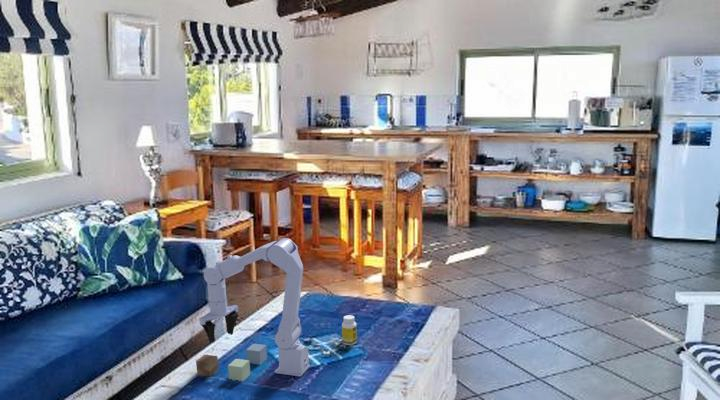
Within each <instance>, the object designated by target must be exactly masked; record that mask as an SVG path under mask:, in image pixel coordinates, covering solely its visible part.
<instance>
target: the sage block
mask: <svg viewBox="0 0 720 400" xmlns="http://www.w3.org/2000/svg"><path fill="white" fill-rule="evenodd" d="M227 368H228V369H227V370H228V379H229V380H230V379H232V380H231V381H236V380H238V381H237V382H244V381H246V379H247V378H249V376H250V375H251V363H249V360H247V359H242V358H235V359H234V360H232V361H231V362H230V363H229V364H227Z"/></svg>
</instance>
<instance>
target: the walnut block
mask: <svg viewBox="0 0 720 400" xmlns="http://www.w3.org/2000/svg"><path fill="white" fill-rule="evenodd" d="M195 362H196V363H195V364H196V373H197V376H203V377H209V376H210V377H209V378H211V377H212V376H213V375H214V374H216V373H217V372H218V371H219V370H218V369H219V359H218V355H211V354H203V355H201V356H200V357H199V358H198V359H197V360H196V361H195ZM217 370H218V371H217ZM216 371H217V372H216ZM211 375H212V376H211Z"/></svg>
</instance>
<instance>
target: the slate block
mask: <svg viewBox="0 0 720 400" xmlns="http://www.w3.org/2000/svg"><path fill="white" fill-rule="evenodd" d="M245 351H246V360H249V363H250V364H251V363H252V365H253V364H254V365H260V366H261V365H262V364H263V363H264V362H265V361H266V360H267V359H268V351H267V344H261V343H260V344H259V343H252V344H251V345H250V346H249V347H247V349H246V350H245Z"/></svg>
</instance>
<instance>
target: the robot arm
mask: <svg viewBox="0 0 720 400" xmlns="http://www.w3.org/2000/svg"><path fill="white" fill-rule="evenodd" d="M298 248H299V247H298V245H297V244H295V242H293V240H292V239H290V238H288V237H282V238H280V239H279V240H274V241H272V242H269V243H266V244H264V245H262V246H260V247H258V248H256V249H254V250H252V251H249V252H248V253H246V254H244V255H242V256H239V255H237V254H236V255H232V254H231V255H228V256H226V259H224V260H222V261H220V260H219V261H217V262H215V263H214V264H212V265H211V266H210V267H208V268H207V269H206V270H205V271H204V272H203V279H204V280H205V282H206V283H207V290H208V291H207V293H208V300H209V301H208V303H209V312H208V313H206V314H205V315H203V316H201V317H199V320H198V321H199V324H200V325H201V326H202V328H203V329H204V331H205V333H206V336H207V337H208V341H209V342H211V343H215V340H216V336H215V329H216V324H215V323H213V322H212V321H214V320H218V319H221V318H224V320H225V324H226V332H227V334H228V335H231V336H232V335H234V330H235V324H236V322H237V320H238V318H239V313H238V312H239V306H238V305H237V304H234V305H230V306H228V300H227V299H228V298H227V288H226V279H228V278H230V277H233V276H234V275H236V274H238V273H241V272H243V271H244V269H245V266H247V265H250V264H253V263H254V262H256V261H257V262H258V261H260V260H263V261H265V262H271V264H273V265H275V266H277V267H278V268H279V269H281V270H283V271H284V272H285V274H286V276H285V277H286V278H285V285H284V286H285V287H284V294H283V295H284V296H283V303H282V305H283V306H282V313H281V314H282V316H281V320H280V323H279V325H278V330H277V332H276V334H275V335H274V342H275V344H276V346H277V348H278V349H277V350H278V363H279V364H278V365H279V366H278V368H277V369H275V370H274V373H275V374H280V375H286V376H287V375H288V376H295V377H302V376H303V374H305V372H306V371H308V369H309V368H310V366H311V365H310V360H309V347H307V345H304V344H302V343H301V342H300V341H301V340H300V338H299V337H300V336H301V335H302V330H303V329H302V325H301V319H300V317H299V311H300V304H301V303H300V301H301V300H300V299H301V293H302V284H303V275H304V274H303V273H304V265H303V262H302V260H301V257H300V254H299V251H298V250H299V249H298Z"/></svg>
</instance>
